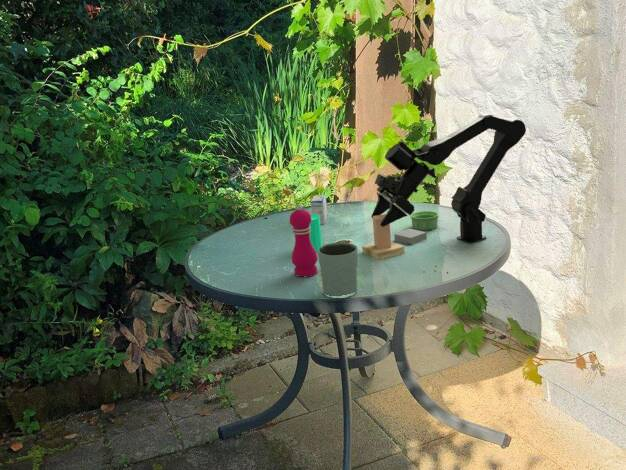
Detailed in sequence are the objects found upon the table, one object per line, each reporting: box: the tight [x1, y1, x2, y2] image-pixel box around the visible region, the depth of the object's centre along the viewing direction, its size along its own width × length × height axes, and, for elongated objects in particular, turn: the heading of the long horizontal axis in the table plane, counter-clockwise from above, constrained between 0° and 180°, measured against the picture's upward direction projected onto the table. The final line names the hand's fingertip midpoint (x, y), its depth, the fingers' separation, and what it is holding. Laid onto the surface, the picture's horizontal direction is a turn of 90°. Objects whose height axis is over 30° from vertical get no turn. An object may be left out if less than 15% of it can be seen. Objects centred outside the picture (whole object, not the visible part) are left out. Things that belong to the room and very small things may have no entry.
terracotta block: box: [372, 213, 392, 249], centre depth 199 cm, size 4×4×9 cm
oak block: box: [361, 240, 406, 260], centre depth 201 cm, size 9×9×2 cm
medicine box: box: [310, 194, 328, 225], centre depth 238 cm, size 8×4×9 cm, turn 172°
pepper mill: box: [289, 203, 319, 277], centre depth 187 cm, size 7×7×20 cm
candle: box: [308, 211, 323, 253], centre depth 208 cm, size 6×6×12 cm
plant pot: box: [317, 242, 358, 296], centre depth 172 cm, size 10×10×12 cm
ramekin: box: [410, 210, 439, 231], centre depth 221 cm, size 9×9×4 cm
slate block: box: [393, 228, 428, 245], centre depth 210 cm, size 7×7×2 cm
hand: (376, 221), depth 198 cm, fingers open, 9 cm apart
